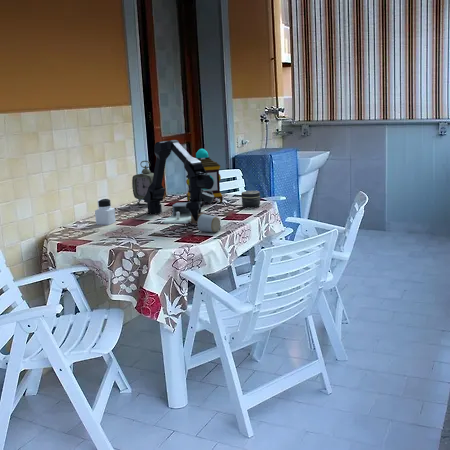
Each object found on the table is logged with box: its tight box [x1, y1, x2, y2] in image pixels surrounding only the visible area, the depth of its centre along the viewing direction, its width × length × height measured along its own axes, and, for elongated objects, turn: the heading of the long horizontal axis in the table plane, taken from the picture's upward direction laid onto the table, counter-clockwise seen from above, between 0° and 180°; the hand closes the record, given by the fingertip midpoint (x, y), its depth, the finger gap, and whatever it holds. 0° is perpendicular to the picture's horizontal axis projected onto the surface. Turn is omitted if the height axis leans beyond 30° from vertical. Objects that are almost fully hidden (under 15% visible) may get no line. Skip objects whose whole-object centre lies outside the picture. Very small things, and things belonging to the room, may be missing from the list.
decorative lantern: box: [185, 148, 224, 203], centre depth 342 cm, size 20×20×30 cm
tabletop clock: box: [131, 160, 154, 205], centre depth 341 cm, size 14×9×25 cm, turn 58°
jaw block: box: [190, 212, 204, 224], centre depth 290 cm, size 5×5×4 cm
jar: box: [240, 190, 261, 209], centre depth 322 cm, size 10×10×8 cm
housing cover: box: [171, 201, 191, 216], centre depth 305 cm, size 10×9×5 cm
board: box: [163, 212, 191, 225], centre depth 299 cm, size 12×22×4 cm, turn 170°
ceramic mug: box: [196, 213, 222, 233], centre depth 269 cm, size 11×8×8 cm
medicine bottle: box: [94, 198, 116, 226], centre depth 296 cm, size 7×7×12 cm
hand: (197, 219), depth 290 cm, fingers closed on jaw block, 5 cm apart
